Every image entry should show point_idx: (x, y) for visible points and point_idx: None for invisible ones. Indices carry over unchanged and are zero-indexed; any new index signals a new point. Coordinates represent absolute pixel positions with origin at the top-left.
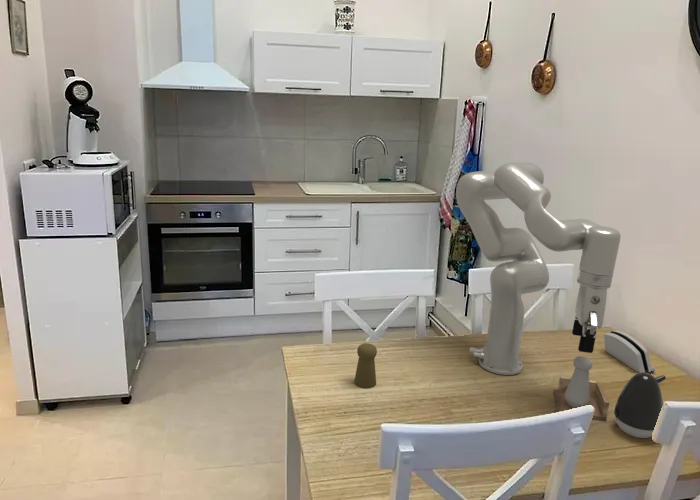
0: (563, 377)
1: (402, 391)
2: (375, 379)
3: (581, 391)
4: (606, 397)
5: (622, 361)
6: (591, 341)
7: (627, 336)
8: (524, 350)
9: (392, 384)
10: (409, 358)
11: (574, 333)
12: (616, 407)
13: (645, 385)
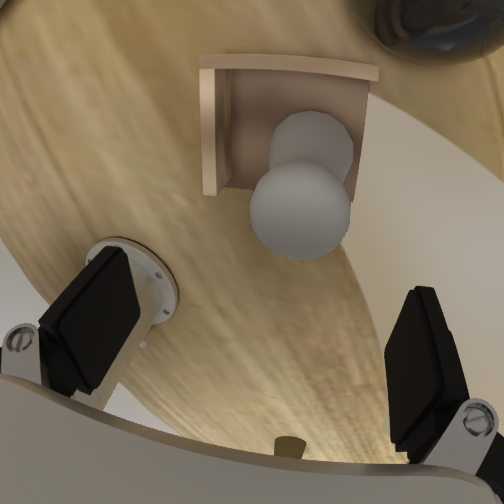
0: (209, 184)
1: (305, 421)
2: (291, 444)
3: (347, 165)
4: (335, 61)
5: (4, 1)
6: (465, 388)
7: None
8: (38, 215)
9: (286, 426)
10: (188, 400)
11: (136, 315)
12: (429, 63)
13: None
